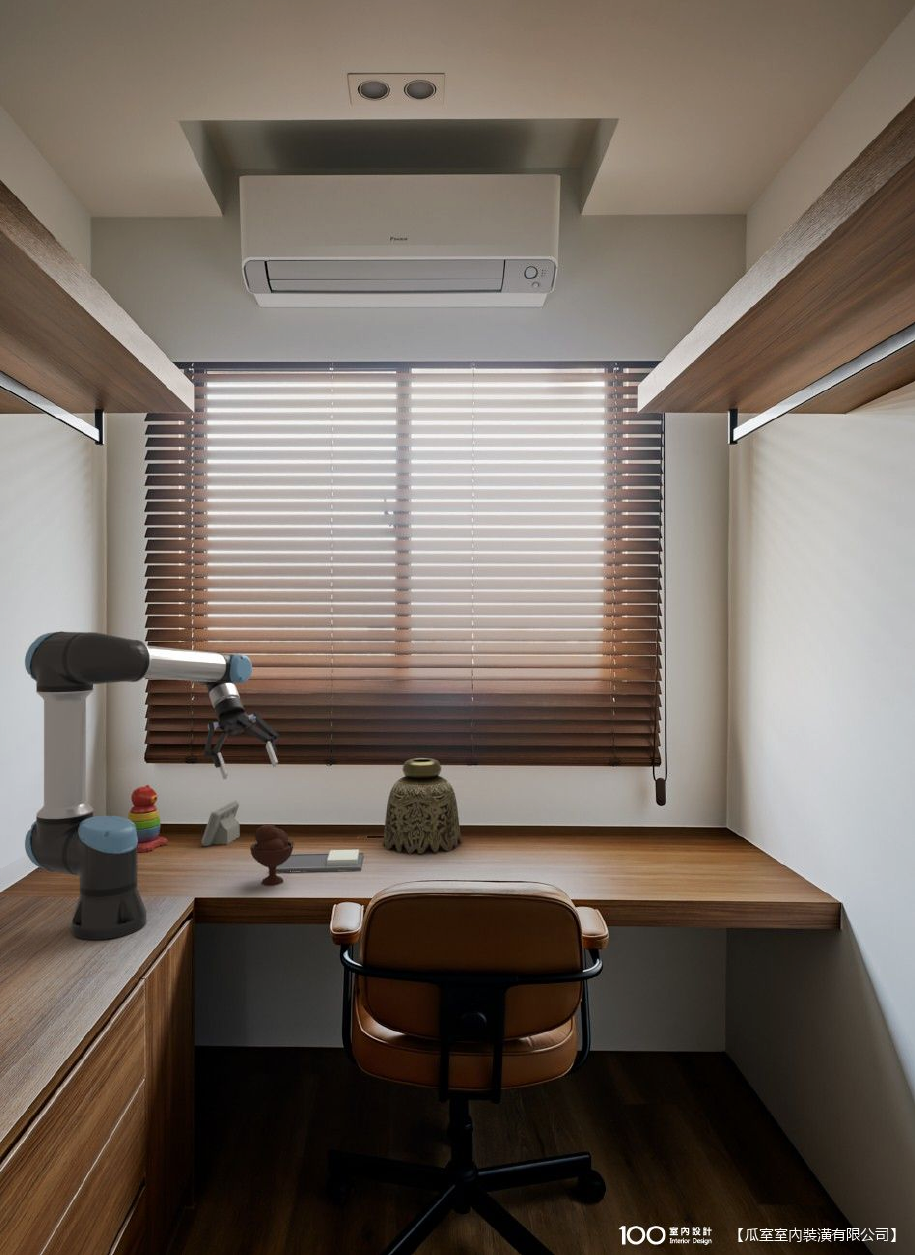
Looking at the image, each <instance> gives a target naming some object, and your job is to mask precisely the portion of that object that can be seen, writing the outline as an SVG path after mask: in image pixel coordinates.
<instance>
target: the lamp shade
mask: <svg viewBox="0 0 915 1255" xmlns="http://www.w3.org/2000/svg"><path fill="white" fill-rule="evenodd" d="M402 772H403V774H404V776H403V777H401V778H399V779H398V780H397V781H396V782H395V783H394V784H393V786H392V787H391V790H390V792H389V794H388V795H389V796H388V800H387V806H386V813H385V823H384V833H383V840H382V845H384V846H385V848H386V850H389V849H391V848H392V847H393V846H394V845H395V849H396V851H397V852H399V853H400V852H401V851H402V848H403V846H404V848H405V850H406V851H407V853H408V854H413V853H414V852H415V850H417V853H418V854H420V855H422V854H423V853H424V852H425V850H426V849H428V847H429V845H430V848H431V850H432V851H433V853H434V854H437V853H438V850H439V848H440V847H441V848H442V850H445V851H446V852H451V851H452V849H453V847H455V848H457V847H458V841H460V842H462V836H461V835H462V834H461V828H460V818H459V810H458V804H457V803H458V802H457V799H456V798H457V797H456V794H455V790H454V789H453V787H452V785H451V783H450V782H449V781H448V780H447V779H446V778H445V777H442V776H441V775H440V774H441V772H442V766H441V763H440V762H439V760H437V759H435V758H432V757H431V758H430V757H415V758H410V759H407V760H405V762H404V764H403V766H402ZM458 839H459V840H458Z"/></svg>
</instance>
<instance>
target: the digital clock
mask: <svg viewBox="0 0 915 1255" xmlns="http://www.w3.org/2000/svg"><path fill="white" fill-rule="evenodd" d="M239 806H240V803H239V802H238V801H237V800H232V801H230V802H228V803H226V804H224V805H222V806H220V807H218V808H216V809H215V810H213V811H212V812H211V813H210V816H209V819H208V821H207V825H206V827H205V829H204V832H203V836H202V838H201V845H202V846H203V847H209V846H211V845H218V844H223V845H224V844H226V845H225V846H227V845H229V844H231V843H232V842H234V841H235V840H237V839H238V838H240V835H241V834H240V832H241V830H240V829H241V827H240V822H239V821H238V820H237V819H236V816H237V815H236V814H237V812H238V809H239ZM236 838H237V839H236ZM233 840H234V841H233ZM223 845H222V846H223Z"/></svg>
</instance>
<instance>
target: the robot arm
mask: <svg viewBox="0 0 915 1255" xmlns="http://www.w3.org/2000/svg"><path fill="white" fill-rule="evenodd" d="M24 667H25V670H26V672H27V674H28V675H29V676H30V678H31V679H33V680H34V681H35V682H36V684H35V686H36V691H35V692H36V694H37V695H38V696H40V697H41V698H42V700H43V806H42V808H41V809H39V810H38V812H37V813H36V816H35V818H36V820H35V821H34V822H33V823H32V824H31V826H30V829H29V830H27V831H26V836H25V840H24V847H25V852H26V855H27V857H28V859H29V861H30V862H32V864H33V865H35V867H36V866H37V867H39V868H41V869H44V870H46V871H49V872H55V873H64V874H68V875H74V876H79V897H78V900H77V903H76V907H75V909H74V913H73V917H72V919H71V923H70V925H71V928H70V929H71V930H70V932H71V934H72V936H74V938H78V939H81V940H87V941H89V940H91V941H97V940H111V939H116V938H119V937H123V936H127V935H129V934H132V933H136V931H138V930H141V929H142V928H143V927H145V925H146V923H147V910H146V907H145V905H144V902H143V900H142V897H141V893H140V891H139V887H138V857H139V856H138V853H139V852H138V838H137V832H136V826H135V824H134V823H133V822H132V821H131V820H129V819H128V817H123V816H119V815H97V816H94V807H92V806H91V805H90V804H89V803H87V758H86V757H87V697H88V696H89V695H91V694H92V692H94V685H102V684H110V683H111V684H112V683H124V682H126V683H130V682H131V683H137V682H140V681H141V680H143V679H155V680H176V681H187V682H191V683H195V684H198V685H202V686H205V688H206V690H207V691H206V692H207V693H208V696H209V699H210V701H211V704H212V707H213V708H214V709H213V710H214V713H215V716H216V719H217V721H213V720H209V721H208V724H207V730H208V731H207V732H208V735H207V737H206V743H205V748H204V752H203V757H204V758H210V759H211V760H212V761H213V764H214V767H215V768H216V769H219V770H220V774H221V775H222V778H223V780H227V778H228V775H229V772H228V770H227V767H226V764H225V760H224V758H223V756H222V753H221V752H220V749H221V747H222V746H223V744H224V741H225V740H226V738H227V737H228V735H230V736H234V735H237V734H239V735H240V734H243V733H246V734H249V735H251V736H253V737H254V738H256V739H258V740H259V741H262V742H263V743H265V744H266V745H265V748H266V751H267V753H268V757H269V760H270V762H271V764H272V765H271V766H272V768H275V767H277V766H278V763H279V761H278V760H279V759H278V758H277V756H276V754H277V753H278V750H277V746H276V742H278V740H279V737H280V734H279V733H278V732H276V731H275V730H274V729H273V728H272V727H271V726H270V725H269V724H268V723H267V722H266V721H265V720H264V719H263V718H261V716H260V714H259V712H258V711H254V712H253V714H249V715H248V714H247V713H246V710H245V708H244V704H243V702H242V700H241V696H240V694H239V692H238V691H239V690H238V688H237V687H236V684H243V683H245V682H247V681H248V680H249V679H250V677H252V673H253V664H252V661H251V659H250V657H249V656H247V655H245V654H238V653H233V654H232V653H221V652H211V651H202V650H192V649H182V648H172V647H166V646H165V647H163V646H155V645H146V643H144V641H142V640H138V639H131V638H126V637H120V636H116V635H111V634H108V633H107V634H106V633H101V632H96V631H95V632H93V631H91V632H87V631H85V632H83V631H79V632H77V631H62V630H61V631H55V632H47V633H44V634H41V635H40V636H38V637H36V639H34V641H33V642H31V644H30V645H29V647H28V648H27V651H26V655H25V658H24ZM250 721H251V722H252V723H251V722H250ZM253 723H254V724H255V725H256V726H257V727H256V726H254V725H253ZM217 728H219V729H220V730H222V733H221V734H220V737H219V738H218V740H217V741H216V743H215V745H214V746H213V747H214V748H213V749H212V750H211V747H212V743H213V738H214V733H215V731H216V730H217Z"/></svg>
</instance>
